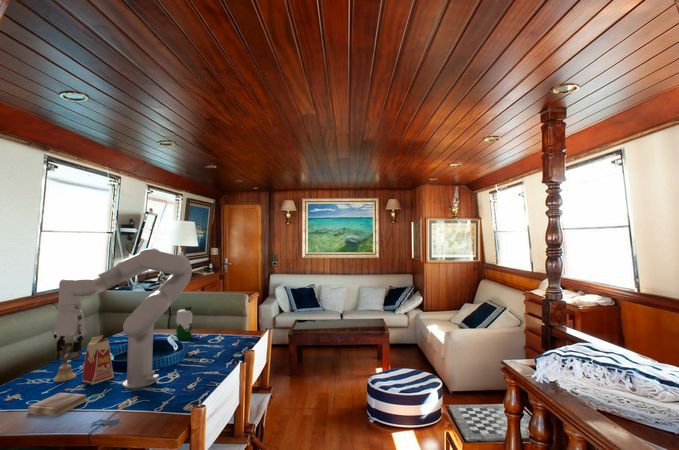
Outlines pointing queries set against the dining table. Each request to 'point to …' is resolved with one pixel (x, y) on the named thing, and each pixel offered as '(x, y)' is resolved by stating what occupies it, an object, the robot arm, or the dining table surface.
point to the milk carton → (97, 361)
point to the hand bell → (64, 371)
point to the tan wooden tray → (57, 404)
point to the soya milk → (184, 323)
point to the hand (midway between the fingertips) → (68, 350)
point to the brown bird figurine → (70, 352)
